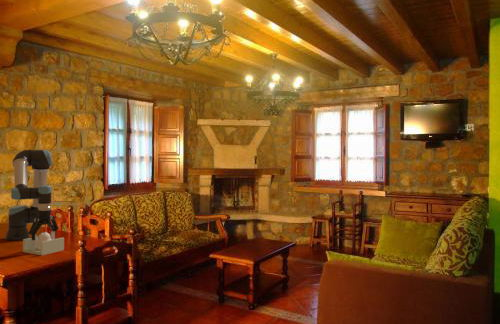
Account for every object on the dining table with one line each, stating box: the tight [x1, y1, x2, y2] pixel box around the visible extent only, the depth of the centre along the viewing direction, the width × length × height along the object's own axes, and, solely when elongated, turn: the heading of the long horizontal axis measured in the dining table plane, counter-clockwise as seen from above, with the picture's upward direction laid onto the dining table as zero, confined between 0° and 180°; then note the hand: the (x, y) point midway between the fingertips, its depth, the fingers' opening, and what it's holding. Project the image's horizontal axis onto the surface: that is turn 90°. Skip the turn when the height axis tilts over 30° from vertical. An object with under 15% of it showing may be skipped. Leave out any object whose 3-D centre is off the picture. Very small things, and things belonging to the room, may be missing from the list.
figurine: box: [35, 231, 52, 251], centre depth 261 cm, size 10×10×12 cm
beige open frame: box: [22, 236, 65, 256], centre depth 260 cm, size 17×16×8 cm
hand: (43, 243), depth 260 cm, fingers open, 13 cm apart
